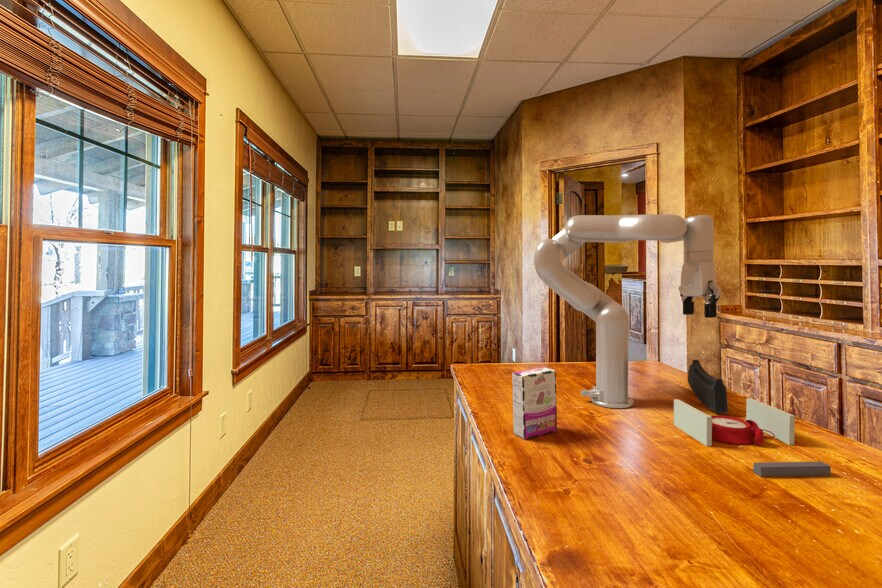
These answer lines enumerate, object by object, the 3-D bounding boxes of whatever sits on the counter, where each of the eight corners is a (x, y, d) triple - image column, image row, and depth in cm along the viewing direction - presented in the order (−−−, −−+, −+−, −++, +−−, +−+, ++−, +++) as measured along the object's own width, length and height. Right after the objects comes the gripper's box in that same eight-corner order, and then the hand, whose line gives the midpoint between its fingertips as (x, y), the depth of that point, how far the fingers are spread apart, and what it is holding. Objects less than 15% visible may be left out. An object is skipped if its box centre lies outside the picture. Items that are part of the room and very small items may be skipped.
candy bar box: (544, 425, 114) (544, 366, 113) (557, 431, 109) (557, 370, 108) (511, 433, 108) (511, 371, 108) (523, 440, 104) (523, 375, 103)
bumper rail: (760, 476, 84) (760, 467, 83) (753, 472, 86) (753, 462, 85) (830, 475, 84) (830, 466, 83) (821, 471, 86) (821, 461, 85)
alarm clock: (695, 413, 111) (762, 407, 105) (701, 436, 111) (768, 431, 105) (701, 426, 102) (776, 420, 96) (708, 452, 101) (783, 447, 95)
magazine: (731, 388, 115) (701, 341, 142) (718, 388, 116) (690, 340, 143) (724, 440, 120) (696, 384, 147) (711, 438, 121) (686, 384, 148)
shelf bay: (706, 446, 99) (706, 417, 98) (673, 424, 113) (673, 399, 112) (794, 444, 98) (794, 415, 98) (750, 423, 112) (751, 398, 112)
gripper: (668, 259, 131) (669, 313, 131) (706, 257, 113) (706, 319, 114) (691, 259, 131) (692, 313, 132) (732, 256, 114) (733, 318, 114)
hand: (699, 315), depth 123 cm, fingers open, 9 cm apart
